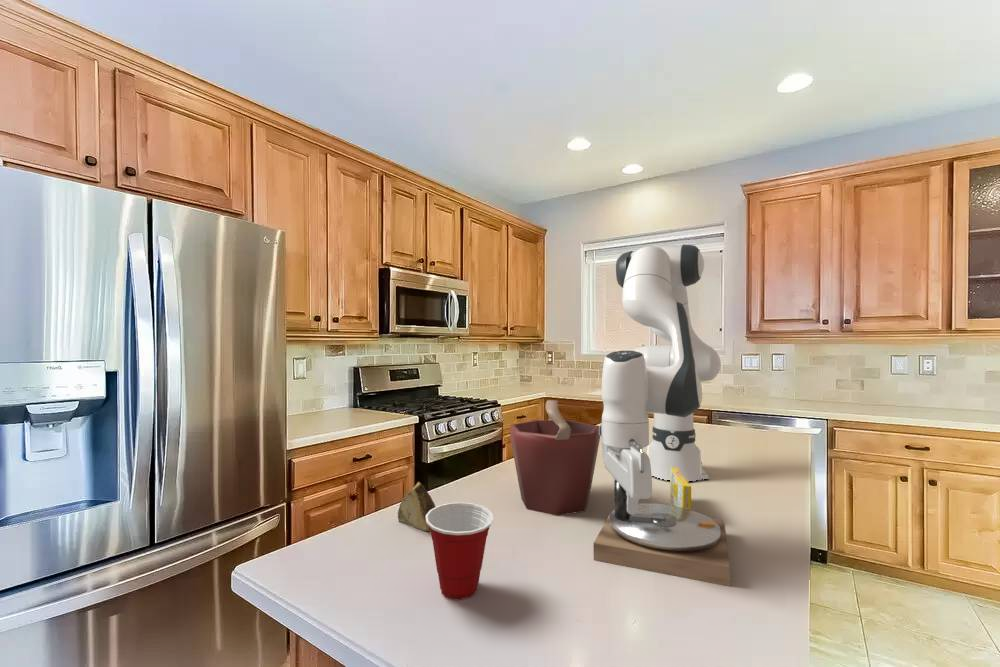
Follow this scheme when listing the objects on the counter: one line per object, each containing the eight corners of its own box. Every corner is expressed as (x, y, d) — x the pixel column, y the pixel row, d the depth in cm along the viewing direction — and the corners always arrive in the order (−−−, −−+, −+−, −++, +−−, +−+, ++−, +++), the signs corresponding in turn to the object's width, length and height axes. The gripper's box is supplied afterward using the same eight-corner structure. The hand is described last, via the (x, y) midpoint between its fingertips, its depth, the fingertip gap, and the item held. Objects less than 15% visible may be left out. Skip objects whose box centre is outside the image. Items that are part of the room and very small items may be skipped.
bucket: (591, 526, 97) (590, 409, 98) (493, 514, 104) (493, 405, 105) (603, 492, 120) (602, 397, 121) (522, 484, 128) (522, 394, 128)
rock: (383, 510, 100) (394, 519, 92) (406, 475, 104) (418, 481, 95) (422, 534, 103) (436, 545, 94) (443, 500, 107) (458, 507, 98)
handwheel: (706, 513, 95) (705, 472, 96) (734, 556, 76) (733, 504, 76) (608, 506, 100) (608, 467, 100) (611, 545, 80) (611, 496, 80)
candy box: (692, 524, 99) (691, 486, 99) (681, 523, 99) (681, 485, 99) (678, 500, 115) (678, 466, 115) (669, 499, 115) (669, 466, 115)
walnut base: (615, 518, 102) (615, 504, 102) (724, 534, 93) (724, 519, 93) (593, 559, 82) (593, 543, 82) (729, 586, 73) (729, 567, 73)
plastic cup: (435, 617, 65) (435, 532, 65) (417, 581, 75) (417, 507, 75) (504, 600, 69) (504, 520, 69) (479, 568, 79) (479, 498, 79)
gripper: (661, 447, 78) (662, 528, 78) (625, 424, 98) (626, 488, 98) (624, 447, 78) (625, 528, 78) (596, 425, 98) (597, 489, 98)
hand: (625, 506), depth 88 cm, fingers open, 5 cm apart
